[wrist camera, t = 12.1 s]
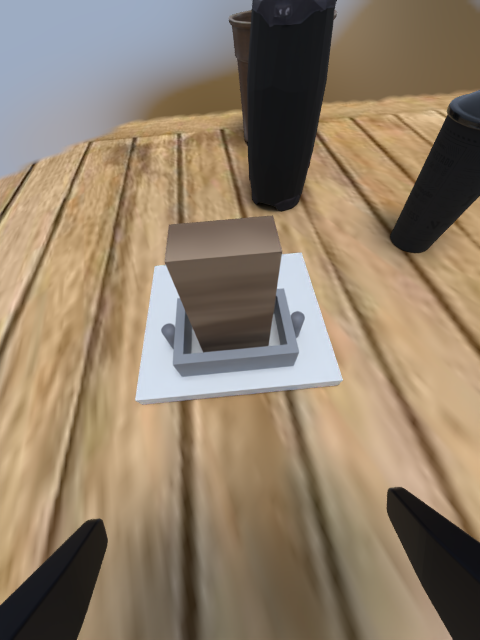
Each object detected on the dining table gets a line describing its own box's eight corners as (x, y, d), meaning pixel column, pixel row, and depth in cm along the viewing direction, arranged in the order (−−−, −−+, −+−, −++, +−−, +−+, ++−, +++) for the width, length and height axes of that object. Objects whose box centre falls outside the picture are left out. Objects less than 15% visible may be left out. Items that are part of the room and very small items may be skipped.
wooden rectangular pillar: (267, 350, 22) (282, 251, 12) (204, 356, 22) (164, 261, 12) (262, 314, 24) (270, 205, 14) (204, 320, 24) (170, 214, 14)
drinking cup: (367, 238, 32) (498, -21, 15) (400, 215, 34) (547, -32, 17) (420, 270, 29) (668, -18, 12) (453, 242, 31) (701, -32, 14)
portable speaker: (307, 186, 39) (350, -20, 23) (295, 219, 35) (336, -7, 18) (258, 178, 41) (264, -17, 24) (240, 209, 36) (232, -5, 20)
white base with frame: (337, 385, 22) (356, 367, 18) (142, 404, 21) (118, 391, 18) (299, 261, 30) (306, 231, 26) (159, 274, 30) (145, 246, 26)
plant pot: (244, 121, 55) (242, 5, 41) (315, 124, 52) (338, 2, 38) (226, 154, 46) (215, 23, 33) (309, 160, 44) (336, 21, 30)
